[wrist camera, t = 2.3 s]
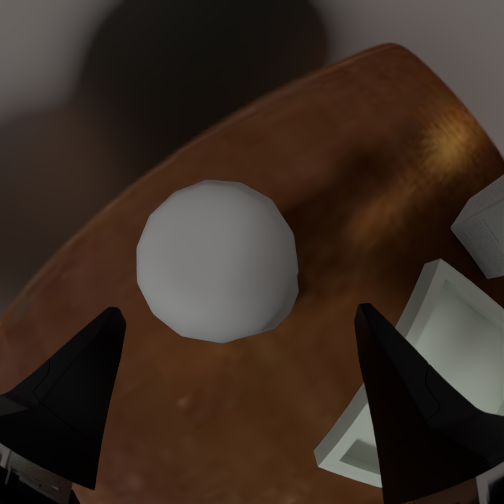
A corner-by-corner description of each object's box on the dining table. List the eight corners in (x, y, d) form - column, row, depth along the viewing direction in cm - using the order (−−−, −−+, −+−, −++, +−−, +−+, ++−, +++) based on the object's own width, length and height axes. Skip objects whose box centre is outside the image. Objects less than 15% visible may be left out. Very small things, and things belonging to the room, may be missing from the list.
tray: (443, 490, 14) (454, 501, 12) (313, 450, 16) (317, 466, 14) (526, 344, 16) (542, 345, 13) (424, 263, 18) (440, 258, 16)
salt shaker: (279, 234, 20) (285, 115, 7) (306, 314, 18) (371, 330, 6) (199, 261, 20) (87, 191, 7) (223, 341, 19) (133, 399, 6)
